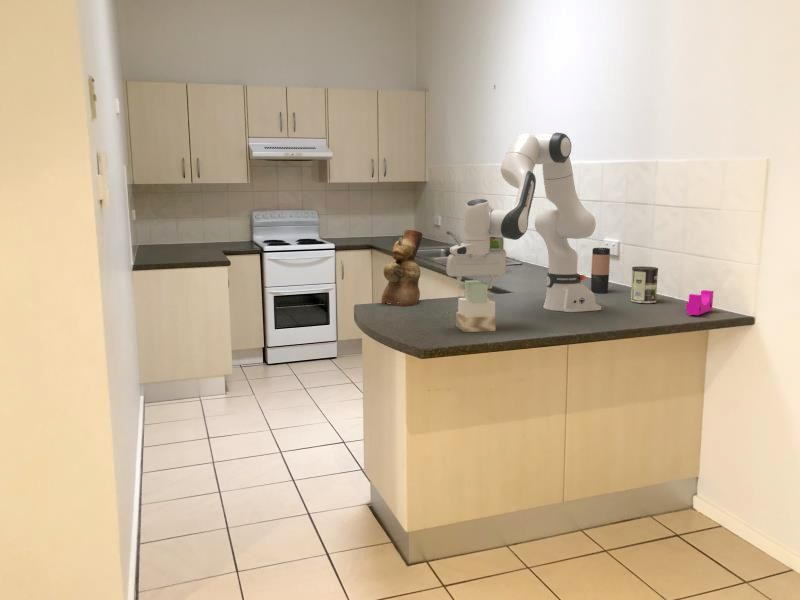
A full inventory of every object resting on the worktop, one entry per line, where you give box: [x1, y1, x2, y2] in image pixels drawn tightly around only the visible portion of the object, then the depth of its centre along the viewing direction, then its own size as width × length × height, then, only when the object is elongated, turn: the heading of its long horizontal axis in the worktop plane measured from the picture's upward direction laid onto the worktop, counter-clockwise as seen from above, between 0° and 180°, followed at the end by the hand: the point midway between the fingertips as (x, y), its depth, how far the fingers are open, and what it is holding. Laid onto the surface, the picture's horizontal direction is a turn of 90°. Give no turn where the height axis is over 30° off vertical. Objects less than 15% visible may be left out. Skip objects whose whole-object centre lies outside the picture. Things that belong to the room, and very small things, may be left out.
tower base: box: [455, 311, 497, 333], centre depth 240 cm, size 11×11×5 cm
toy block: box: [685, 289, 714, 316], centre depth 270 cm, size 15×6×8 cm, turn 137°
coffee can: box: [630, 265, 659, 304], centre depth 291 cm, size 10×10×14 cm
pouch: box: [490, 237, 504, 251], centre depth 376 cm, size 11×12×25 cm
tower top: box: [457, 297, 496, 318], centre depth 239 cm, size 10×10×5 cm
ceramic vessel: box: [380, 229, 423, 307], centre depth 287 cm, size 16×22×30 cm
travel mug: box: [590, 247, 611, 295], centre depth 312 cm, size 8×8×20 cm
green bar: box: [464, 279, 488, 303], centre depth 238 cm, size 5×11×6 cm, turn 9°
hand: (475, 288), depth 238 cm, fingers open, 8 cm apart
